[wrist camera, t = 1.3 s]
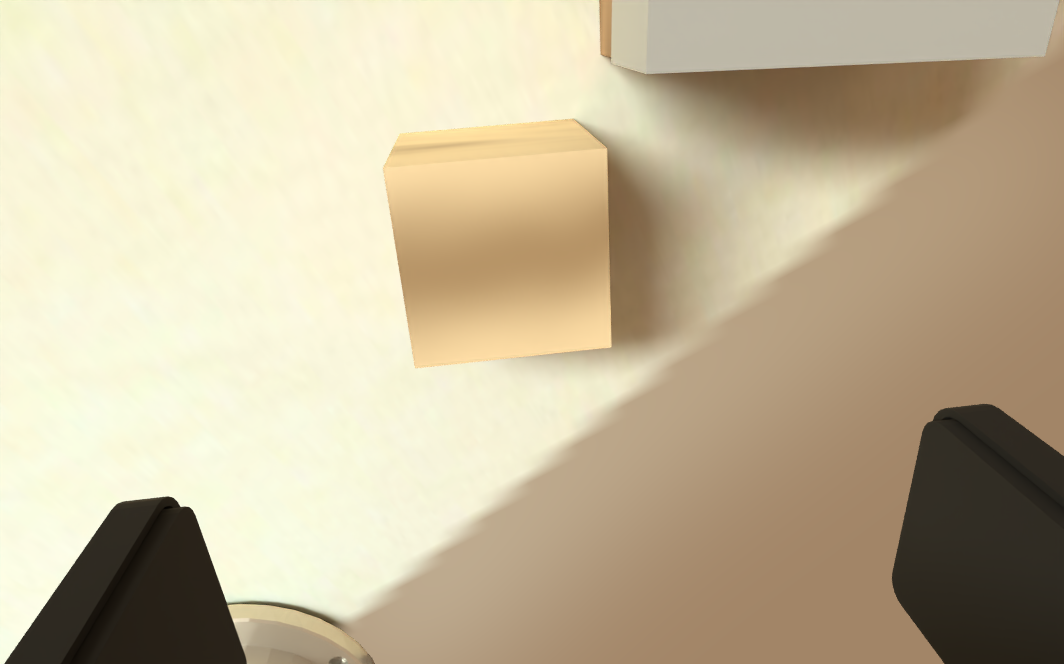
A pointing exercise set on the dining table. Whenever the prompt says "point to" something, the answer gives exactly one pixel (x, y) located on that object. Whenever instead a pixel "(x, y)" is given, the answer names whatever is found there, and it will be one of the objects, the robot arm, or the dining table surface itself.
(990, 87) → the dining table surface
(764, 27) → the tower top
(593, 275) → the block
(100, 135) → the dining table surface
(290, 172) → the dining table surface
